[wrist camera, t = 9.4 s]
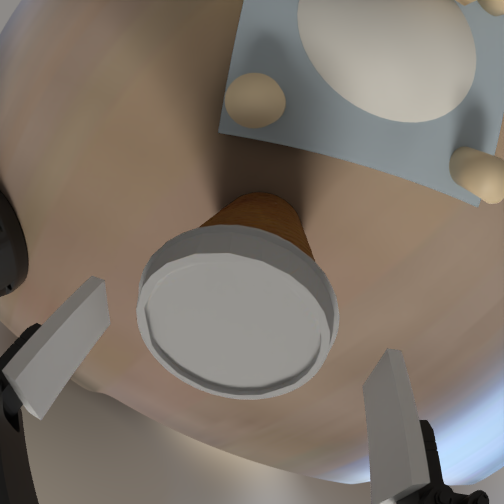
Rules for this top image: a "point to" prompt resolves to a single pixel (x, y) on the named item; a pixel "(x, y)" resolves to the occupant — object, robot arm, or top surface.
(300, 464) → the top surface
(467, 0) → the stool leg
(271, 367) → the disposable coffee cup
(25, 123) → the top surface
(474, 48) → the board
